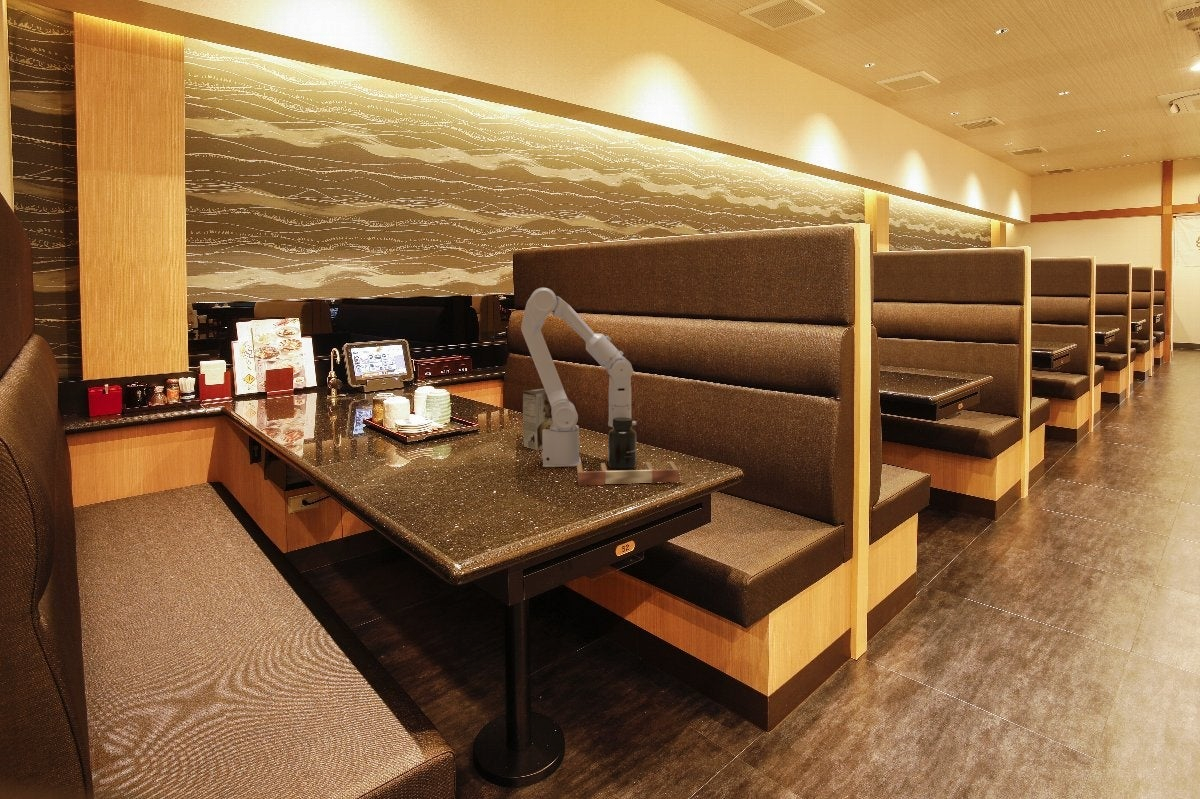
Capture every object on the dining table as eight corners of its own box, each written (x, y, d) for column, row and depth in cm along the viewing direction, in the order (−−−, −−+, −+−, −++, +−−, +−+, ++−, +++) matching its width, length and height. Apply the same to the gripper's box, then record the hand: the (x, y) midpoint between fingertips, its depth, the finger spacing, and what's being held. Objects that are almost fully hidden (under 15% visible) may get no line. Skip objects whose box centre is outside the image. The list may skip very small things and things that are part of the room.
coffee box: (547, 442, 199) (546, 387, 197) (562, 446, 195) (561, 389, 192) (522, 448, 193) (521, 390, 190) (537, 451, 188) (536, 392, 186)
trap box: (578, 485, 154) (578, 472, 153) (577, 475, 162) (577, 463, 162) (678, 483, 155) (678, 470, 155) (672, 473, 163) (672, 461, 163)
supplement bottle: (633, 471, 166) (634, 422, 164) (605, 469, 167) (605, 421, 165) (638, 463, 173) (638, 416, 171) (611, 462, 174) (611, 415, 172)
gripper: (639, 409, 166) (639, 464, 168) (632, 400, 181) (632, 450, 183) (610, 409, 166) (610, 464, 168) (605, 400, 180) (606, 451, 182)
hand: (620, 457), depth 175 cm, fingers closed
